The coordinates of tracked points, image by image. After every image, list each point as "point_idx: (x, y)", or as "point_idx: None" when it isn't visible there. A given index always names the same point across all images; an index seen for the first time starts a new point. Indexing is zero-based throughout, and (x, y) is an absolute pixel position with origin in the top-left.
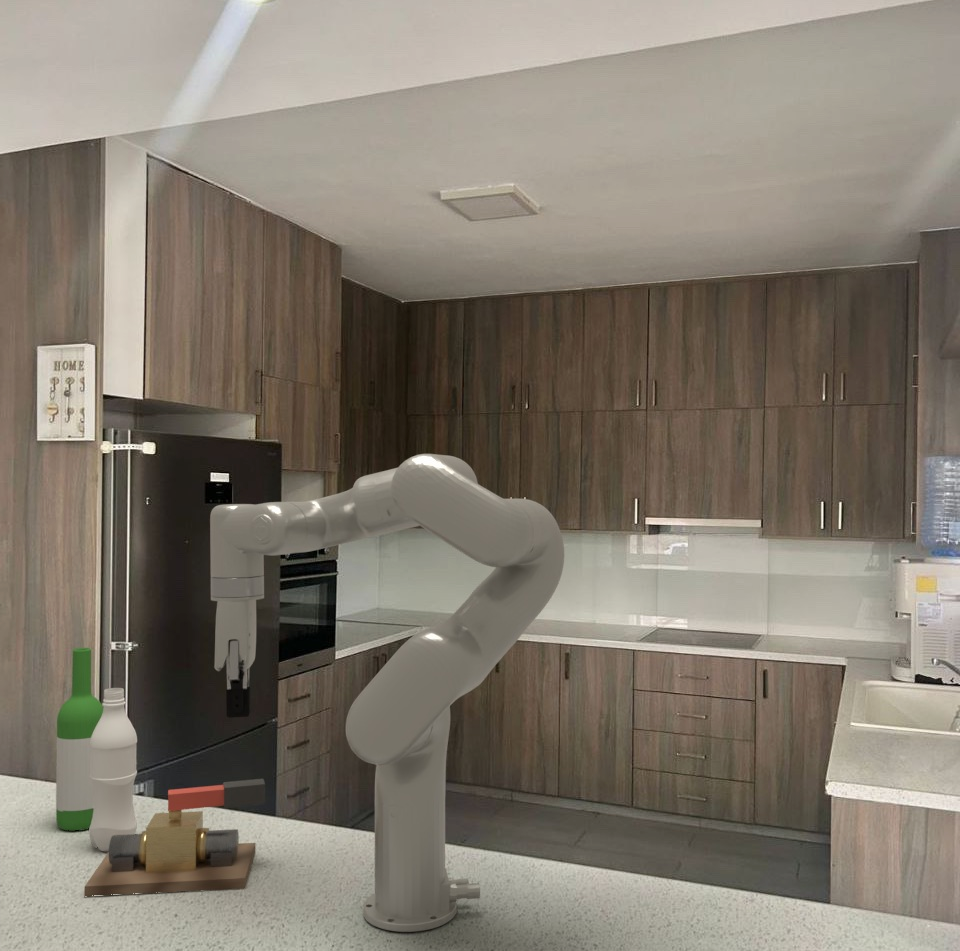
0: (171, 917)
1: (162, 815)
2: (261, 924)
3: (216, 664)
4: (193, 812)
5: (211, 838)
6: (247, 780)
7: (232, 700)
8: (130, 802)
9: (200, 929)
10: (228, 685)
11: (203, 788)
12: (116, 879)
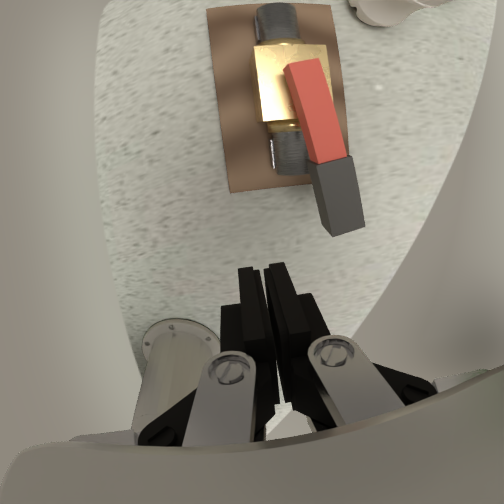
0: (149, 130)
1: (315, 57)
2: (140, 232)
3: (7, 475)
4: None
5: (281, 140)
6: (358, 200)
7: (220, 335)
8: (398, 10)
9: (123, 173)
10: (202, 382)
11: (326, 122)
12: (227, 34)
